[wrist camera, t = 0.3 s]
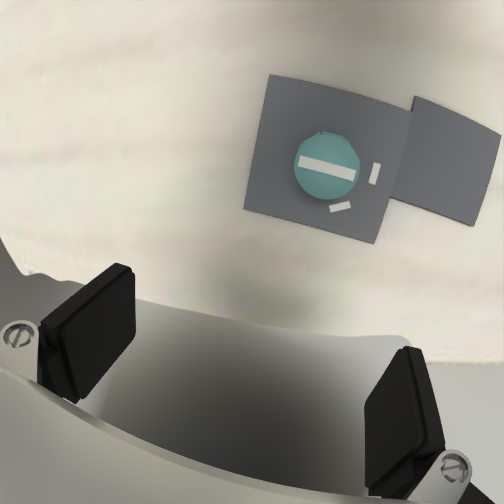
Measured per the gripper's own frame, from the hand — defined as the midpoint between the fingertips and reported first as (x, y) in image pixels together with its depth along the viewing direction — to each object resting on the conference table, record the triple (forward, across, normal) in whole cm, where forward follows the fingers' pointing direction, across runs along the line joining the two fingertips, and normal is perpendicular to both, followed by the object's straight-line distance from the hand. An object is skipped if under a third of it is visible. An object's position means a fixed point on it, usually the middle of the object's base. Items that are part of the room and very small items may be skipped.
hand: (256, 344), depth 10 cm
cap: (+27, -1, -4) cm, 27 cm away
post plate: (+27, -1, -4) cm, 28 cm away
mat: (+27, -15, -8) cm, 32 cm away
